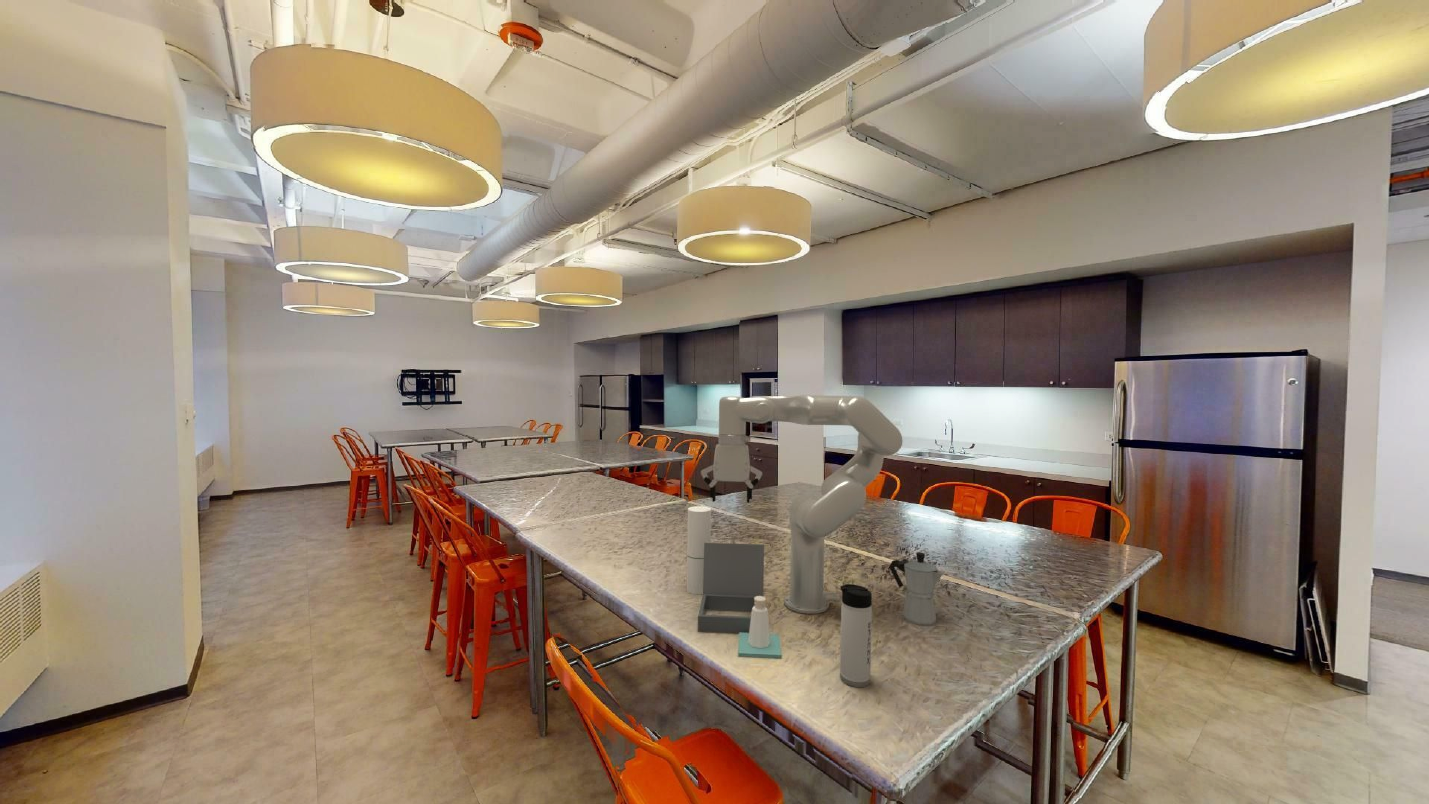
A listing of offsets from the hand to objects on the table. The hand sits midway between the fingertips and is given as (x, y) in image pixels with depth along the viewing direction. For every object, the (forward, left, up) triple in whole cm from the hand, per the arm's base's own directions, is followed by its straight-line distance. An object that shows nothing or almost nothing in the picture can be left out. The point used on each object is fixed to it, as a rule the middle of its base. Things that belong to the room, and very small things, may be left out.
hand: (731, 501), depth 143 cm
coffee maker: (-51, +1, -31) cm, 59 cm away
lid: (-1, 0, -19) cm, 19 cm away
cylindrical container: (+10, -12, -31) cm, 34 cm away
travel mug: (-28, +33, -31) cm, 53 cm away
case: (-1, +8, -30) cm, 31 cm away
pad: (-8, +21, -30) cm, 38 cm away
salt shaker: (-8, +21, -30) cm, 37 cm away
